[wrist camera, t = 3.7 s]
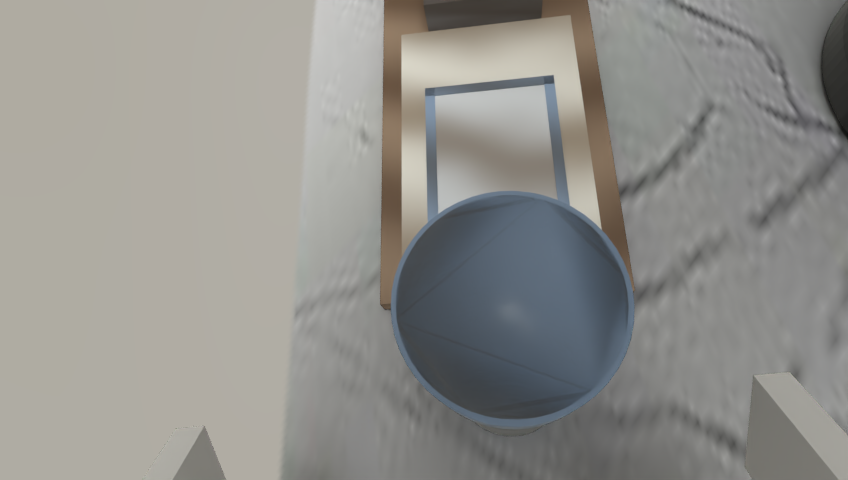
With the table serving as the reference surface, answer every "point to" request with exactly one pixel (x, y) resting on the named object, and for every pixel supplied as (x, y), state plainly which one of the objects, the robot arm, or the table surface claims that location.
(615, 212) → the wooden board
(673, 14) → the table surface
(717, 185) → the table surface
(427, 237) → the cup
